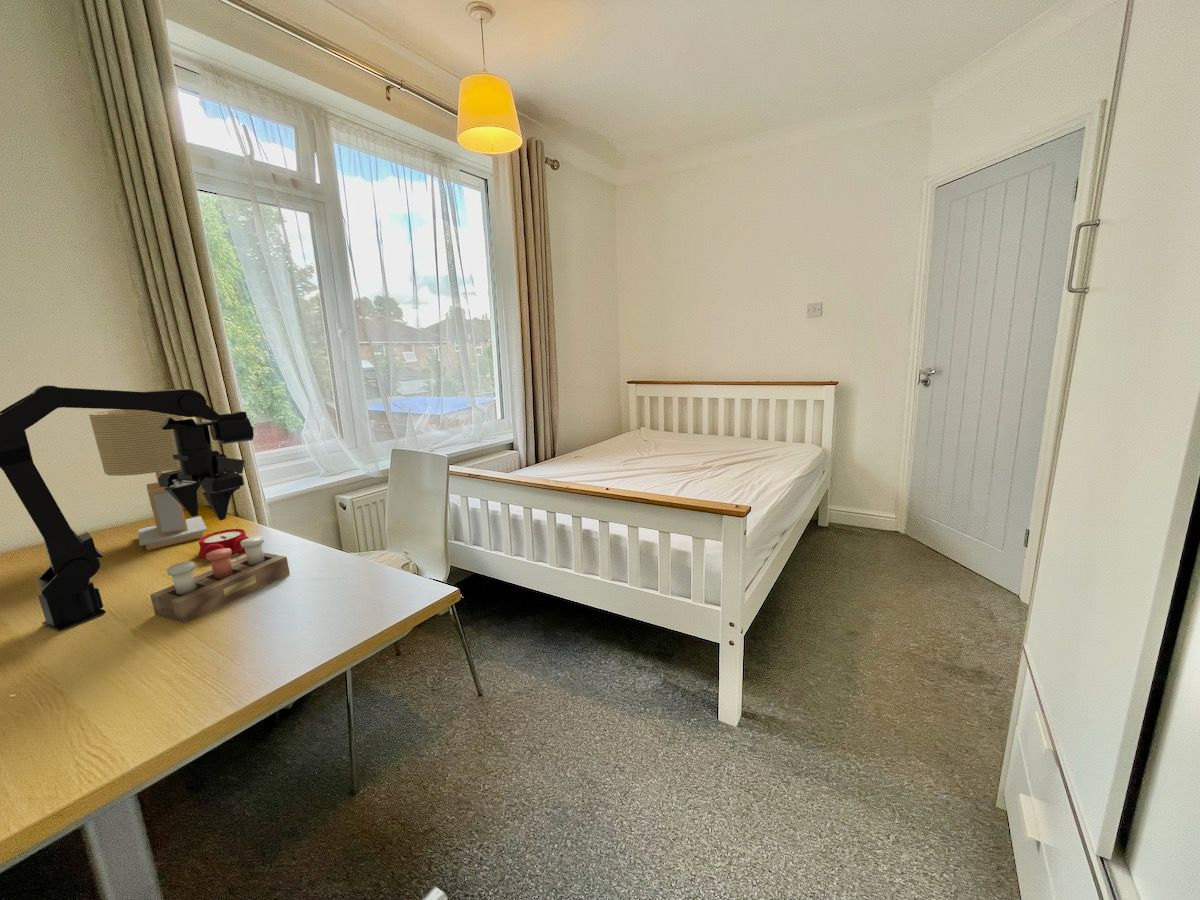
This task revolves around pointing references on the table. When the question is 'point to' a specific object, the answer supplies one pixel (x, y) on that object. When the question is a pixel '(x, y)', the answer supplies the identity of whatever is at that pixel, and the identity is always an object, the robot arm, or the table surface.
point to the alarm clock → (222, 541)
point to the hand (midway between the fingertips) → (208, 517)
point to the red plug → (220, 562)
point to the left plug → (183, 577)
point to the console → (219, 588)
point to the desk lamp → (146, 468)
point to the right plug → (253, 550)
